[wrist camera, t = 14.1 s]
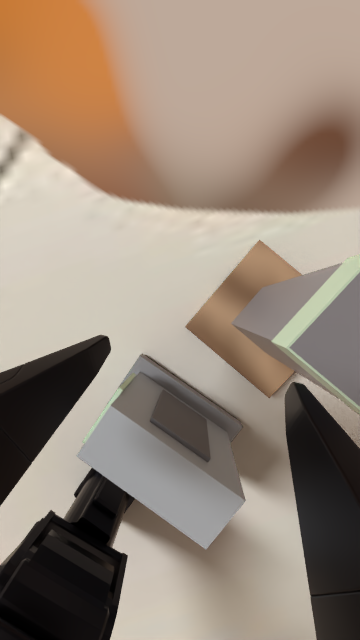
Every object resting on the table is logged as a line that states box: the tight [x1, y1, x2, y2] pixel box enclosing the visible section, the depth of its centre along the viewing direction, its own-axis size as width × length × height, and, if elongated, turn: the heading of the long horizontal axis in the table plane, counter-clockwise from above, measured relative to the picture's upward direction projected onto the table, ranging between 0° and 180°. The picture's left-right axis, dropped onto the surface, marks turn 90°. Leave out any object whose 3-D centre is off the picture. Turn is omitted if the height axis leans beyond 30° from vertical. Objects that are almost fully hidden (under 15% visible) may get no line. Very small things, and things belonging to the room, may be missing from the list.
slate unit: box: [77, 354, 245, 549], centre depth 18 cm, size 8×14×8 cm, turn 56°
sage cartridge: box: [231, 254, 360, 414], centre depth 14 cm, size 5×5×12 cm
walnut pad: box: [186, 240, 301, 398], centre depth 20 cm, size 12×12×1 cm
